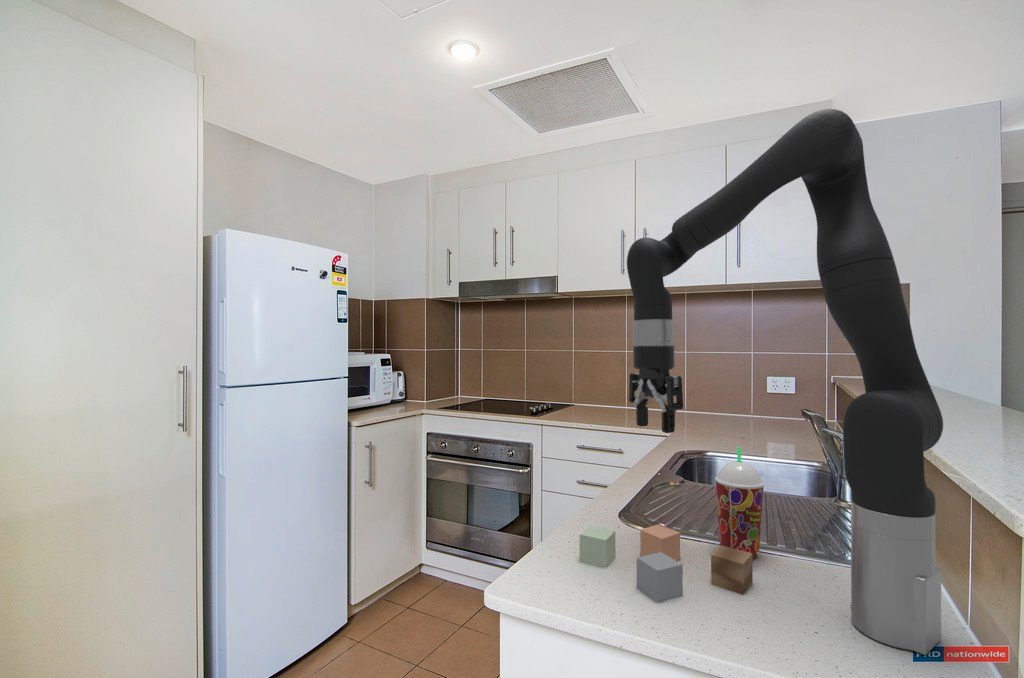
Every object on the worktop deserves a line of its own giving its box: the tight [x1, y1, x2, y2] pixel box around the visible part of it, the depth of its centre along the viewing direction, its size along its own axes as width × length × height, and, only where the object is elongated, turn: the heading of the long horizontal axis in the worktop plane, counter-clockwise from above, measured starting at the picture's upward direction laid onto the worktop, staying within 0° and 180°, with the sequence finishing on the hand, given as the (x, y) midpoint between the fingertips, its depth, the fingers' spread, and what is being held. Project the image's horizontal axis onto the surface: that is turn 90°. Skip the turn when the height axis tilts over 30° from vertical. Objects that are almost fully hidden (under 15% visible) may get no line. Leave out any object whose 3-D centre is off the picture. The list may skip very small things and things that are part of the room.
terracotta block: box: [639, 523, 681, 562], centre depth 91 cm, size 5×5×5 cm
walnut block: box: [710, 545, 754, 596], centre depth 81 cm, size 5×5×5 cm
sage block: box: [579, 525, 616, 569], centre depth 90 cm, size 5×5×5 cm
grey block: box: [636, 552, 684, 603], centre depth 79 cm, size 5×5×5 cm
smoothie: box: [714, 446, 765, 559], centre depth 93 cm, size 8×8×20 cm
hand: (654, 429), depth 94 cm, fingers open, 8 cm apart
